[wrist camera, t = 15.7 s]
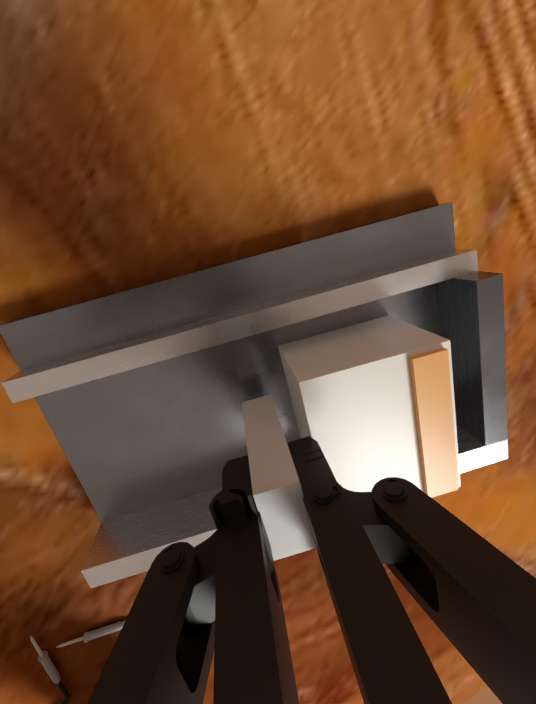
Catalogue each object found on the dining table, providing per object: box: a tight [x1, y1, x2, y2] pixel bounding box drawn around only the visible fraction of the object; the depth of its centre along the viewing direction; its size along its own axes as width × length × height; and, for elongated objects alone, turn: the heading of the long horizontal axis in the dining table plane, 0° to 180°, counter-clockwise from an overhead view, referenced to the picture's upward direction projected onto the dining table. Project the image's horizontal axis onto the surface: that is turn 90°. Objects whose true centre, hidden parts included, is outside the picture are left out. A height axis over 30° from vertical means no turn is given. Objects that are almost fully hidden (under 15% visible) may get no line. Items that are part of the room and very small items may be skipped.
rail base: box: [0, 202, 508, 588], centre depth 17 cm, size 15×22×4 cm
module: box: [278, 315, 461, 498], centre depth 16 cm, size 7×6×5 cm
